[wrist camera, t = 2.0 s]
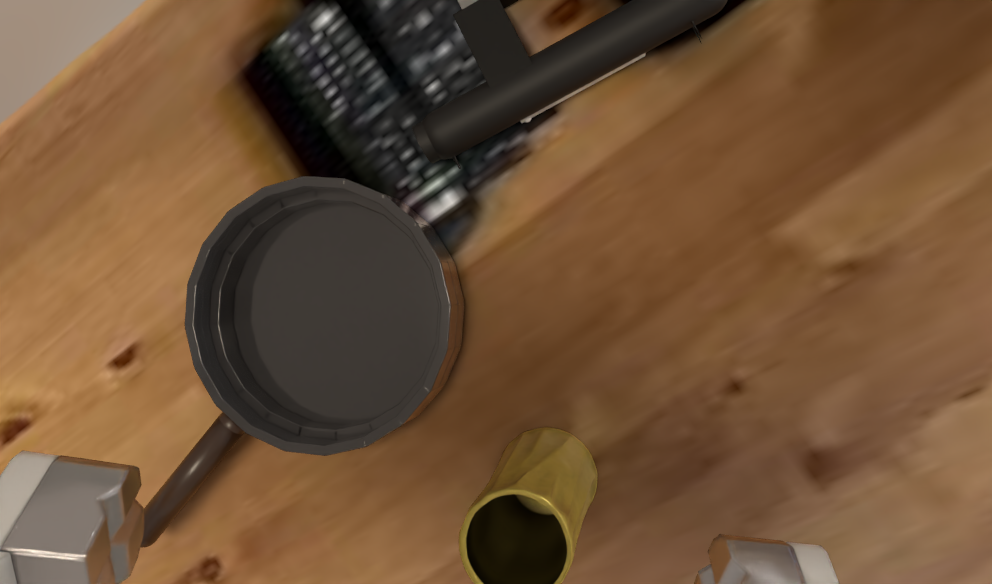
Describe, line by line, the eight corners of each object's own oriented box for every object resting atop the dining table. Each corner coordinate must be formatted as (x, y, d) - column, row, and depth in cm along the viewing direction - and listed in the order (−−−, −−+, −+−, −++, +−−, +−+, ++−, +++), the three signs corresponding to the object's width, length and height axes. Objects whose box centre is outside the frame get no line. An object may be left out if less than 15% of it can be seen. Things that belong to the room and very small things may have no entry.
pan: (325, 133, 55) (298, 120, 50) (518, 299, 53) (507, 300, 48) (173, 326, 57) (134, 330, 52) (354, 493, 55) (329, 511, 50)
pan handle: (237, 401, 53) (223, 405, 51) (258, 420, 53) (244, 425, 51) (133, 528, 54) (116, 537, 53) (153, 548, 54) (137, 557, 52)
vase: (557, 406, 52) (528, 452, 38) (618, 489, 52) (611, 565, 38) (478, 464, 53) (422, 529, 39) (538, 545, 53) (502, 641, 39)
